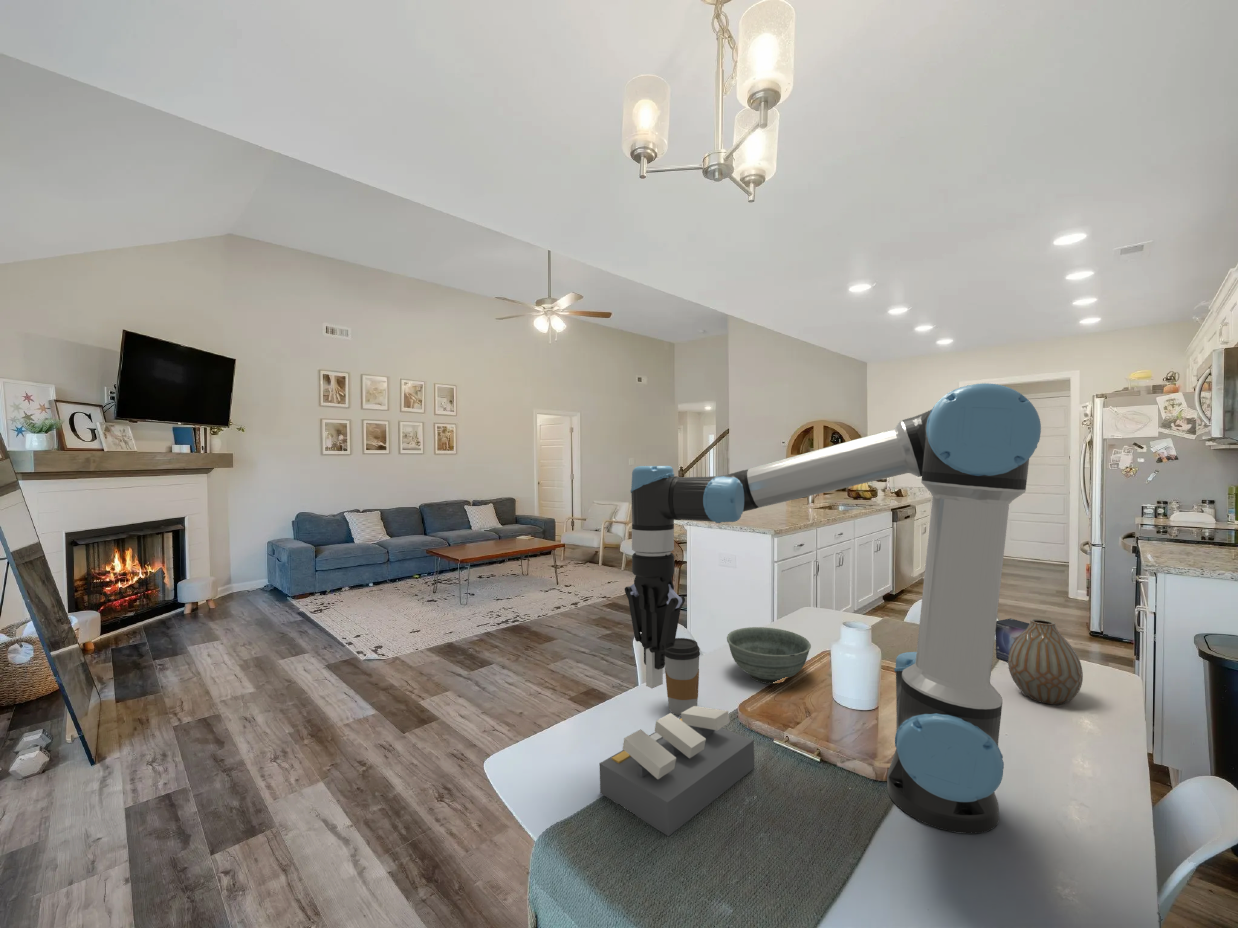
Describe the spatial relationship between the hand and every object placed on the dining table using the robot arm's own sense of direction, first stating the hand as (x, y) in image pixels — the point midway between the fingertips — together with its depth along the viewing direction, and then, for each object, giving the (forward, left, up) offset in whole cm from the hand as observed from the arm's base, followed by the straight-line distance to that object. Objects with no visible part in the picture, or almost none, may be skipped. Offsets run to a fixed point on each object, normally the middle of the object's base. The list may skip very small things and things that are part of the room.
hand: (654, 684), depth 92 cm
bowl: (+7, -52, -16) cm, 55 cm away
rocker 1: (-4, +6, -9) cm, 12 cm away
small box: (-38, -105, -16) cm, 113 cm away
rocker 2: (-4, -2, -9) cm, 10 cm away
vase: (-45, -83, -16) cm, 95 cm away
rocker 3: (-4, -10, -9) cm, 14 cm away
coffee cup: (+12, -23, -16) cm, 31 cm away
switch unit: (-4, -2, -16) cm, 17 cm away
